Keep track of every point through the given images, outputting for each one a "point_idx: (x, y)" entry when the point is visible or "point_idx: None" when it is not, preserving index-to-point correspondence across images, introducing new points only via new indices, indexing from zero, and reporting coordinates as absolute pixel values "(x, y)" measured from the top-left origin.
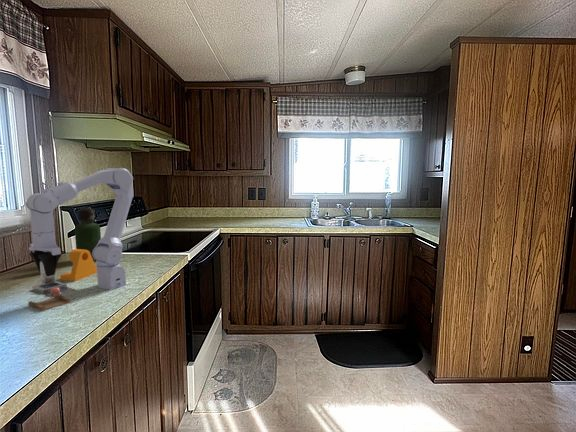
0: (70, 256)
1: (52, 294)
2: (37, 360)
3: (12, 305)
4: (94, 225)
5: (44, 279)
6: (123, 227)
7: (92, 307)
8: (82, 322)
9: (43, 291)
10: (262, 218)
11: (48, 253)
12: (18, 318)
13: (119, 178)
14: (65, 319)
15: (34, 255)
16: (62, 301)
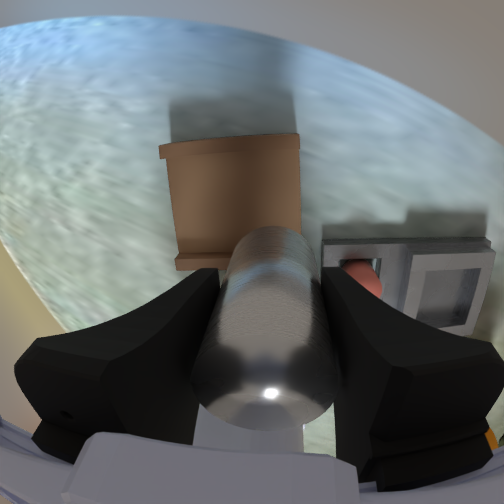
0: (491, 442)
1: (356, 264)
2: None
3: (410, 117)
4: None
5: (242, 246)
6: None
7: (105, 285)
8: (21, 208)
9: (410, 253)
10: None
11: (52, 437)
12: (209, 67)
13: None
14: (64, 184)
15: (378, 377)
16: (210, 246)
